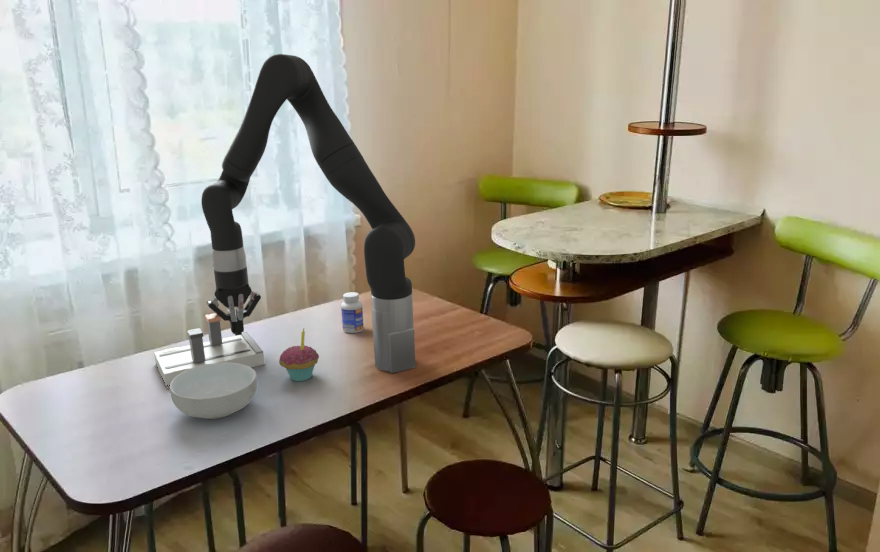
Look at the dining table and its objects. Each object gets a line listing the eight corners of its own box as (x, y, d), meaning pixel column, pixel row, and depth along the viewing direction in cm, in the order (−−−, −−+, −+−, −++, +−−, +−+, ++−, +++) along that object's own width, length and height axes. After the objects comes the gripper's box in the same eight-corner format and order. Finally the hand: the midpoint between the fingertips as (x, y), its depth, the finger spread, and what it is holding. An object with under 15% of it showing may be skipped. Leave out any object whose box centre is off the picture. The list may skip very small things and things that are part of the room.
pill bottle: (360, 334, 188) (357, 298, 185) (339, 333, 189) (337, 297, 186) (366, 326, 193) (364, 291, 190) (346, 325, 194) (344, 290, 191)
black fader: (206, 361, 166) (202, 332, 164) (193, 364, 164) (189, 335, 162) (203, 356, 169) (199, 328, 166) (190, 358, 167) (186, 330, 165)
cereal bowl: (213, 439, 139) (208, 405, 137) (156, 417, 148) (151, 386, 146) (276, 402, 153) (273, 371, 151) (221, 385, 161) (217, 355, 159)
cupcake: (327, 372, 166) (323, 322, 163) (305, 388, 159) (301, 336, 155) (295, 366, 170) (291, 317, 166) (273, 381, 162) (268, 331, 159)
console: (264, 364, 171) (263, 350, 170) (166, 386, 161) (163, 372, 160) (248, 344, 183) (247, 331, 182) (155, 363, 173) (153, 350, 172)
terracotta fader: (223, 344, 175) (220, 317, 173) (211, 346, 174) (208, 319, 172) (220, 339, 178) (216, 312, 176) (208, 342, 177) (204, 315, 174)
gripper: (204, 274, 167) (213, 345, 172) (262, 265, 173) (269, 333, 178) (198, 266, 173) (206, 334, 178) (253, 257, 179) (260, 324, 184)
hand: (238, 334), depth 178 cm, fingers closed
